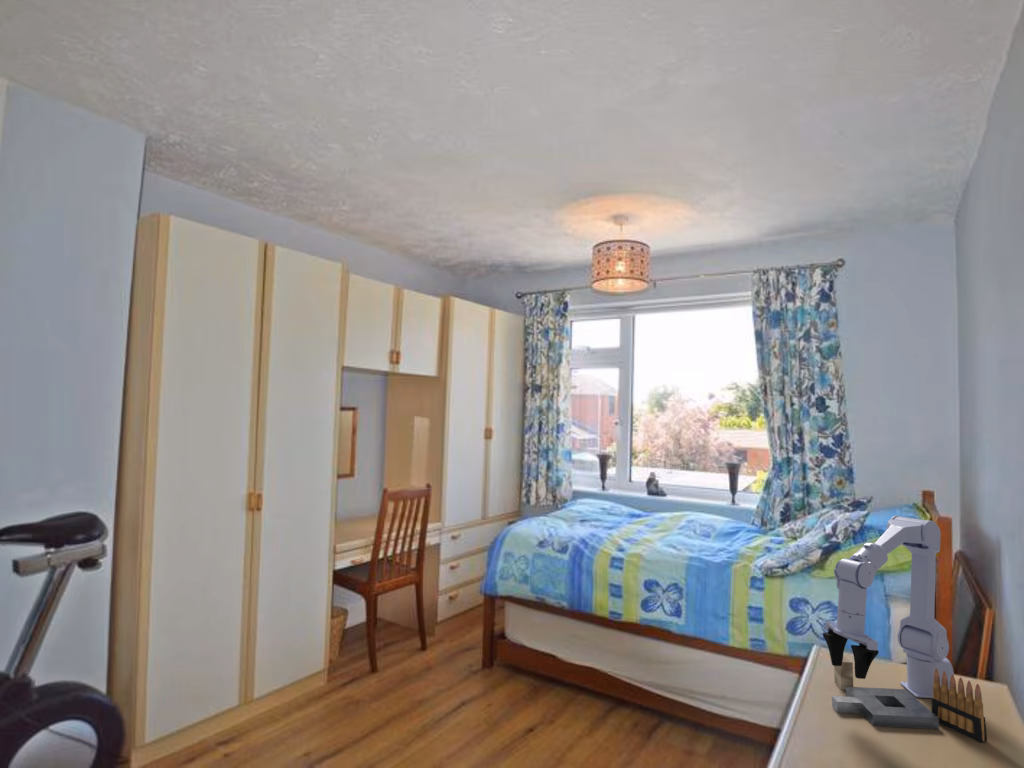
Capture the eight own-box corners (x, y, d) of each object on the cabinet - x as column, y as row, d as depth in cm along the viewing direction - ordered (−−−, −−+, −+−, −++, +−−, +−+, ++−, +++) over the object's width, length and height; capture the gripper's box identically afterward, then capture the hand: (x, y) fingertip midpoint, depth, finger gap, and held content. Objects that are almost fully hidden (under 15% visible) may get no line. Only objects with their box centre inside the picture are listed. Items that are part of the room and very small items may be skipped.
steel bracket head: (905, 699, 149) (905, 689, 149) (939, 729, 135) (938, 717, 135) (822, 695, 151) (822, 685, 151) (847, 724, 137) (847, 713, 137)
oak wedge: (846, 683, 158) (845, 656, 158) (853, 690, 154) (852, 662, 154) (834, 682, 158) (833, 655, 159) (841, 689, 154) (840, 661, 155)
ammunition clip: (987, 741, 130) (985, 685, 131) (981, 743, 129) (979, 686, 130) (936, 718, 140) (934, 665, 140) (931, 720, 139) (929, 667, 140)
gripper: (815, 602, 148) (812, 659, 147) (859, 620, 134) (856, 683, 133) (840, 604, 150) (837, 660, 148) (887, 622, 135) (883, 684, 134)
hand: (848, 671), depth 141 cm, fingers open, 7 cm apart
